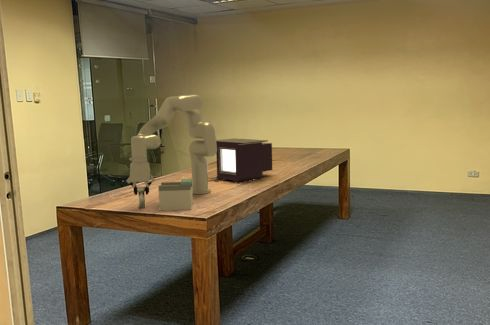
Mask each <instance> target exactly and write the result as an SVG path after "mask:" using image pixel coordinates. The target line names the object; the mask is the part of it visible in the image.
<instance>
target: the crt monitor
mask: <svg viewBox="0 0 490 325" xmlns="http://www.w3.org/2000/svg"><path fill="white" fill-rule="evenodd" d="M216 144H217V152H216V154H215V155H216V179H217V180H218V181H222V180H223V181H229V180H230V181H232V183H235V182H237V183H236V184H240V183H239V182H242V183H245V182H244V181H247V182H250V181H249V180H252V181H254V180H253V179H257V180H260V179H259V178H262V179H263V177H264V175H263V173H264V172H268V171H273V143H272V142H269V140H267V139H248V138H225V139H216ZM227 179H228V180H227Z"/></svg>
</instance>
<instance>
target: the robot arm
mask: <svg viewBox="0 0 490 325" xmlns="http://www.w3.org/2000/svg"><path fill="white" fill-rule="evenodd" d="M202 106H203V99H202V97H201V96H200V95H198V94H181V95H177V96H176V95H175V96H168V97H167V98H165V100H164V101H163V103H162V104H161V106H160V108H159V109H158V110H157V112H156V114H155V116H154V117H153V118H151V119H150V120H149V121H147V122H146V123H145V124H143V126H142V127H141V128H140V130H139V132H138V133H137V135H133V136H132V137H131V138H130V143H131V144H130V145H131V146H130V147H131V157H129V158H128V159H129V161H130V164H129V166H130V167H129V176H128V178H127V179H126V180H125V181H126V183H127V184H129V185H130V186H131V187H132V188H133V194H134V196H137V195H138V192H137V191H136V188H137V187H138V186H137V184H138V183H144V184H145V186H144V187H145V190H146V191H145V196H147V195H149V193H150V186H151V185H152V184H153V183H154V182H155V181H156V178H154V176H153V175H152V172H151V167H150V162H149V161H148V154H147V150H148V149H149V150H155V149H157V148H159V147H160V146H161V142H162V141H161V137H160V136H159V135H156V134H155V132H158V131H159V130H162V129H164V128H166V127H167V126H169V125H170V123H171V122H172V120H173V118H174V117H175V115H176V113H184V114H185V118H186V121H187V126H188V127H187V129H188V133H189V136H190V137H191V138H193V139H196V140H193V141H191V142H190V143H189V145H188V150H189V155H190V166H191V179H192V192H193V195H205V194H210V193H211V192H212V190H211V189H210V188H209V175H208V173H209V172H208V161H207V158H206V157H209V158H210V157H211V158H212V157H215V155H216V152H217V144H216V140H217V138H216V131H215V128H214V125H213V124H212V123H211V122H208V121H207V122H203V119H202V115H201V112H200V109H201V108H202ZM202 139H203V140H202Z"/></svg>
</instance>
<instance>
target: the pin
mask: <svg viewBox="0 0 490 325" xmlns="http://www.w3.org/2000/svg"><path fill="white" fill-rule="evenodd" d="M136 187H137V188H136V191H137V193H138V204H139V206H138V208H139V209H141V210H143V209H144V210H145V209H146V198H145V197H146V190H145V187H146V186H136Z"/></svg>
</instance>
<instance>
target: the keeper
mask: <svg viewBox="0 0 490 325" xmlns="http://www.w3.org/2000/svg"><path fill="white" fill-rule="evenodd" d="M179 182H180V185H190V184H191V182H192V178H182V179H181V180H180V181H179Z"/></svg>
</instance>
